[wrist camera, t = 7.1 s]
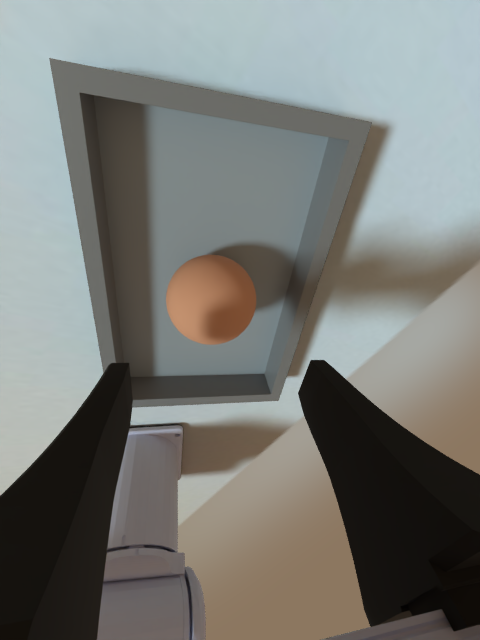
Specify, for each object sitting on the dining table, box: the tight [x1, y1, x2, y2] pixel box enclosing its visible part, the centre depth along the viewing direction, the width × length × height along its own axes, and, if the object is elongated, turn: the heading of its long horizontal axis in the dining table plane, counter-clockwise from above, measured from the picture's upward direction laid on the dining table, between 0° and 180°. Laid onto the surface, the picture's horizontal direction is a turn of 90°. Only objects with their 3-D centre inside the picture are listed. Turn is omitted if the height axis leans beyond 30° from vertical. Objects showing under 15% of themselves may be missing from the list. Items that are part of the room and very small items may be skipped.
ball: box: [166, 255, 256, 345], centre depth 16 cm, size 5×5×5 cm
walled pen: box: [49, 58, 372, 407], centre depth 17 cm, size 19×13×2 cm
